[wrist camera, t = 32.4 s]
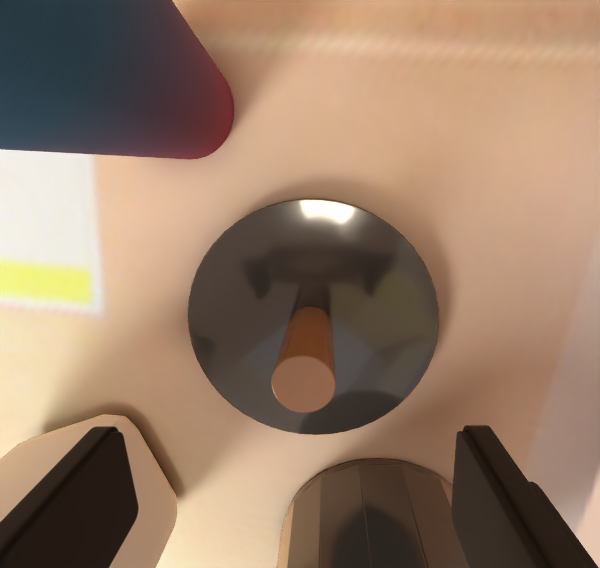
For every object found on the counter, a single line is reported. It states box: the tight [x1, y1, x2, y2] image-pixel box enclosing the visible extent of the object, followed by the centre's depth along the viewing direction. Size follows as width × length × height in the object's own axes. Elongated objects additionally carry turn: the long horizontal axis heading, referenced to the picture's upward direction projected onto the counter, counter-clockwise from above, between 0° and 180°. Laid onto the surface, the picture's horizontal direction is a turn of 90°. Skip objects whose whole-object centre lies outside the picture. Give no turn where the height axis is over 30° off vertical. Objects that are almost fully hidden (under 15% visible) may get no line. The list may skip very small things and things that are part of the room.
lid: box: [188, 199, 439, 435], centre depth 17 cm, size 14×14×7 cm
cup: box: [0, 0, 234, 159], centre depth 11 cm, size 7×7×15 cm
